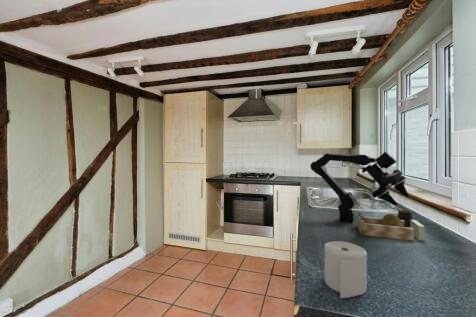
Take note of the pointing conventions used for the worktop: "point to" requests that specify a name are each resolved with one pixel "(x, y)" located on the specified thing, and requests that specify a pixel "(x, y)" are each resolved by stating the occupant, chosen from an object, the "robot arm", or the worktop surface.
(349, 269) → the toilet tissue
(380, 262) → the worktop surface
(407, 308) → the worktop surface
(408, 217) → the mate gourd
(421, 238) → the pale green block
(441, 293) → the worktop surface
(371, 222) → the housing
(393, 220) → the potato
